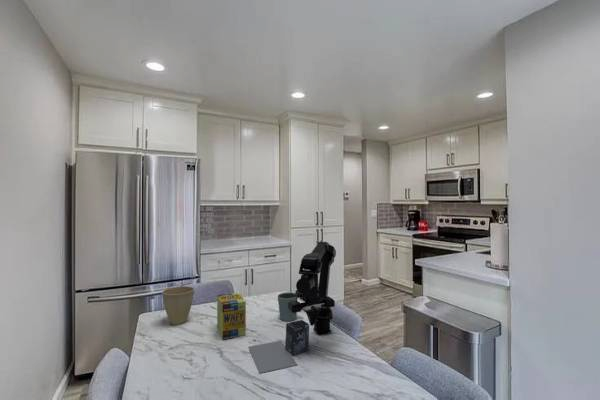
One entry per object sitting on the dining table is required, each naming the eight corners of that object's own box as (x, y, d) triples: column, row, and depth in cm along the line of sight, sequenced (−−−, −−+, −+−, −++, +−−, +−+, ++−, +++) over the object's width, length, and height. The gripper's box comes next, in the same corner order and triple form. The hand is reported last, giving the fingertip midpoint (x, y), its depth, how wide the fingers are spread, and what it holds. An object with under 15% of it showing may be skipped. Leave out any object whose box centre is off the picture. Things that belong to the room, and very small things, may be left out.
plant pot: (197, 323, 143) (197, 291, 143) (165, 331, 134) (165, 296, 135) (190, 314, 155) (190, 284, 155) (159, 320, 147) (159, 289, 147)
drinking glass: (301, 317, 149) (301, 294, 149) (290, 324, 140) (290, 299, 141) (285, 313, 154) (285, 291, 155) (273, 320, 146) (273, 296, 146)
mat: (281, 341, 123) (281, 340, 123) (297, 365, 105) (297, 364, 105) (248, 347, 118) (248, 346, 118) (259, 373, 99) (259, 373, 99)
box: (292, 355, 111) (293, 327, 111) (284, 349, 115) (285, 322, 116) (309, 350, 115) (309, 323, 115) (301, 345, 120) (301, 319, 120)
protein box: (222, 340, 124) (222, 304, 124) (217, 327, 138) (216, 294, 138) (246, 336, 128) (246, 301, 129) (238, 323, 142) (238, 291, 143)
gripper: (323, 279, 129) (323, 315, 128) (283, 284, 122) (283, 321, 122) (335, 286, 118) (335, 324, 118) (292, 291, 112) (292, 332, 111)
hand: (311, 325), depth 118 cm, fingers closed
